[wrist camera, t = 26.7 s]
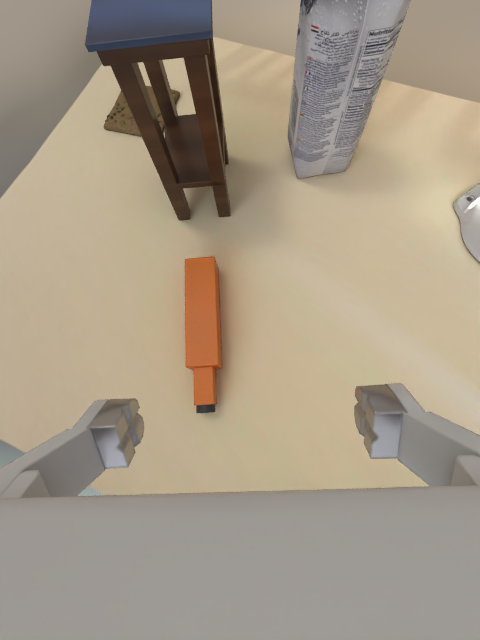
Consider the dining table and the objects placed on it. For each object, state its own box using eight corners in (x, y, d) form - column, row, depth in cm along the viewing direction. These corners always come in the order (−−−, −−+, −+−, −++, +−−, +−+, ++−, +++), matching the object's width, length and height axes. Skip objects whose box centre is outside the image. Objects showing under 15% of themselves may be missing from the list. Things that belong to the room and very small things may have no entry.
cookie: (103, 129, 58) (100, 124, 57) (127, 84, 61) (125, 79, 60) (159, 140, 56) (157, 135, 55) (180, 93, 59) (179, 88, 58)
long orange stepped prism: (224, 411, 42) (220, 411, 37) (193, 413, 42) (185, 413, 38) (218, 269, 48) (214, 256, 44) (191, 271, 48) (184, 258, 44)
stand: (236, 220, 50) (211, 30, 25) (173, 225, 51) (84, 44, 25) (233, 150, 54) (209, -74, 29) (174, 156, 55) (100, -60, 30)
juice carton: (352, 175, 51) (446, -61, 25) (292, 185, 51) (324, -39, 26) (340, 136, 54) (414, -115, 28) (283, 145, 54) (304, -95, 28)
